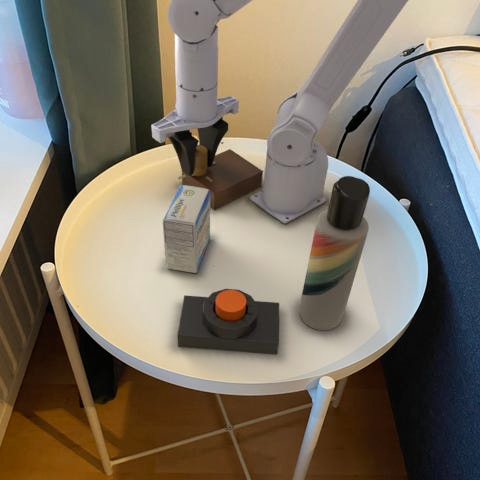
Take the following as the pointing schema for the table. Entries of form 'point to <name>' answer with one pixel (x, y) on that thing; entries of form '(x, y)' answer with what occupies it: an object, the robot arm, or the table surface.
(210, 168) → the dial panel
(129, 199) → the table surface
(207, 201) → the medicine box
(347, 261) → the lotion bottle
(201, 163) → the dial
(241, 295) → the button
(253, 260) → the table surface
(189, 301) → the switch base
